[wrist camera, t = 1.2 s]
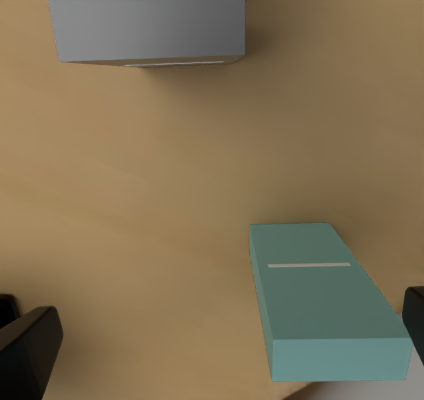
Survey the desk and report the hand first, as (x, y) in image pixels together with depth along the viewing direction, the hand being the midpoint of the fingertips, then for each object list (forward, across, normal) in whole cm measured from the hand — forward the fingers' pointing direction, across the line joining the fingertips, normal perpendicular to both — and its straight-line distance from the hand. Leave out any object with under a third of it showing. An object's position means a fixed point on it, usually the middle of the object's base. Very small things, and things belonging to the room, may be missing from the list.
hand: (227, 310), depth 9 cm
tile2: (+13, +2, -7) cm, 15 cm away
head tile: (+13, -4, +4) cm, 14 cm away
